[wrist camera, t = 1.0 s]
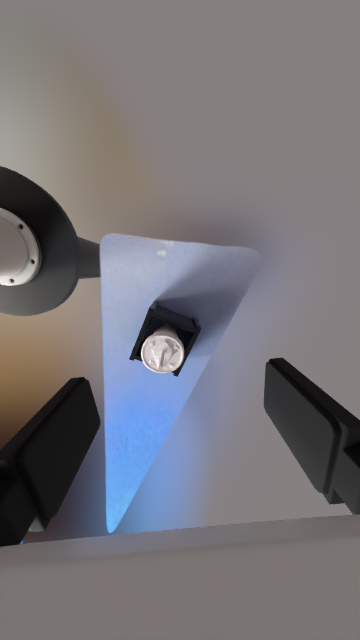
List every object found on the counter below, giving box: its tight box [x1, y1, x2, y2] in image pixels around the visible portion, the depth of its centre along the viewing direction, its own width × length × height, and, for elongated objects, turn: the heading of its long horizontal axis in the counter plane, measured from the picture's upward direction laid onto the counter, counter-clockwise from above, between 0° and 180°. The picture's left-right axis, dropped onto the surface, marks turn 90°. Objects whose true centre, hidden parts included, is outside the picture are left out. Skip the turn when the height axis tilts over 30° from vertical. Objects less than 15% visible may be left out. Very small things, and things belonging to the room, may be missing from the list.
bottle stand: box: [129, 301, 201, 377], centre depth 31 cm, size 9×10×6 cm
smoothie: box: [141, 323, 184, 373], centre depth 27 cm, size 6×6×14 cm
